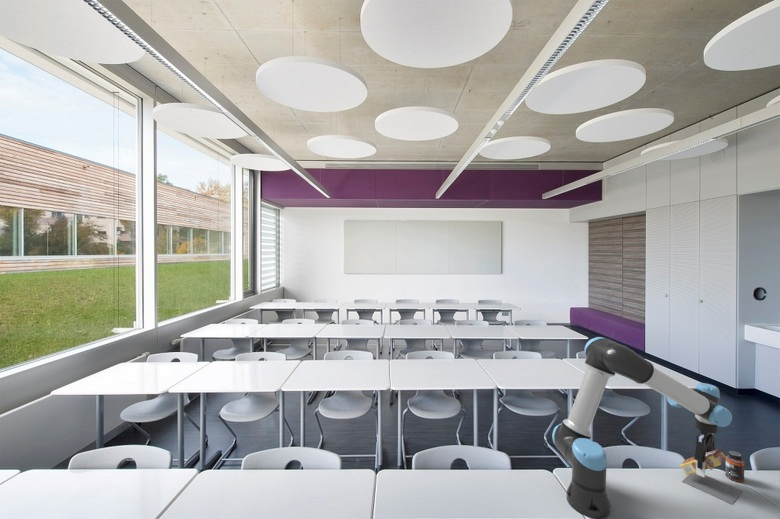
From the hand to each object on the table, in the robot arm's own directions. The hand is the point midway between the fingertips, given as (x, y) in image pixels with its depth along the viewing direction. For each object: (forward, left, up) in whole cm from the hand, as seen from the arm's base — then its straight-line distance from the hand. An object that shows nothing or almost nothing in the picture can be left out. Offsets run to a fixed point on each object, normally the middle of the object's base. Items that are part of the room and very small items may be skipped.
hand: (704, 471), depth 151 cm
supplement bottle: (+6, +16, -5) cm, 18 cm away
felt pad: (+3, 0, -5) cm, 6 cm away
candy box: (-6, 0, -2) cm, 6 cm away
